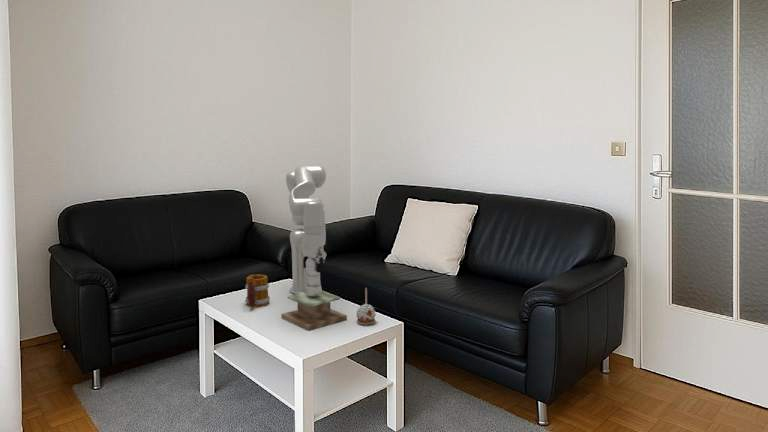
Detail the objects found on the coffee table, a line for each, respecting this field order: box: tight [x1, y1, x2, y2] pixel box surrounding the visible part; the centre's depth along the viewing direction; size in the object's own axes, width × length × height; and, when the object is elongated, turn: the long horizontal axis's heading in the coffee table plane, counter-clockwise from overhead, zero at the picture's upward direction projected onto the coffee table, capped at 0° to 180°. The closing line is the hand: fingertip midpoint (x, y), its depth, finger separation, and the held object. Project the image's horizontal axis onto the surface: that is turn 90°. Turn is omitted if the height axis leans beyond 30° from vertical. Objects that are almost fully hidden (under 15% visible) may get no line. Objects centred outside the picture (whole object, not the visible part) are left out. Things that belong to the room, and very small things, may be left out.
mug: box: [244, 274, 271, 309], centre depth 275 cm, size 11×16×15 cm, turn 174°
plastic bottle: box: [306, 257, 323, 297], centre depth 255 cm, size 6×7×20 cm
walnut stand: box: [281, 290, 348, 331], centre depth 257 cm, size 20×20×10 cm
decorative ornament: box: [356, 287, 376, 326], centre depth 253 cm, size 8×8×15 cm
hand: (313, 269), depth 254 cm, fingers open, 9 cm apart
